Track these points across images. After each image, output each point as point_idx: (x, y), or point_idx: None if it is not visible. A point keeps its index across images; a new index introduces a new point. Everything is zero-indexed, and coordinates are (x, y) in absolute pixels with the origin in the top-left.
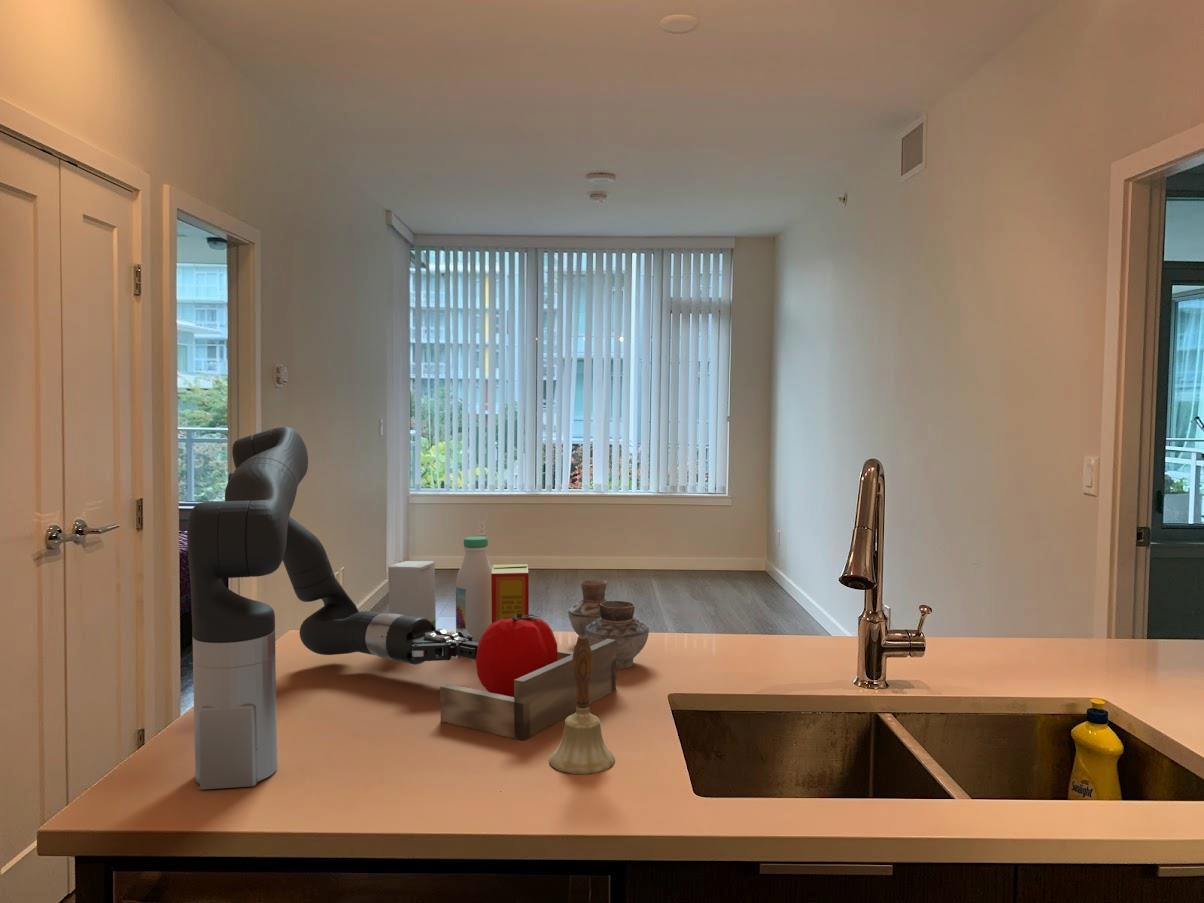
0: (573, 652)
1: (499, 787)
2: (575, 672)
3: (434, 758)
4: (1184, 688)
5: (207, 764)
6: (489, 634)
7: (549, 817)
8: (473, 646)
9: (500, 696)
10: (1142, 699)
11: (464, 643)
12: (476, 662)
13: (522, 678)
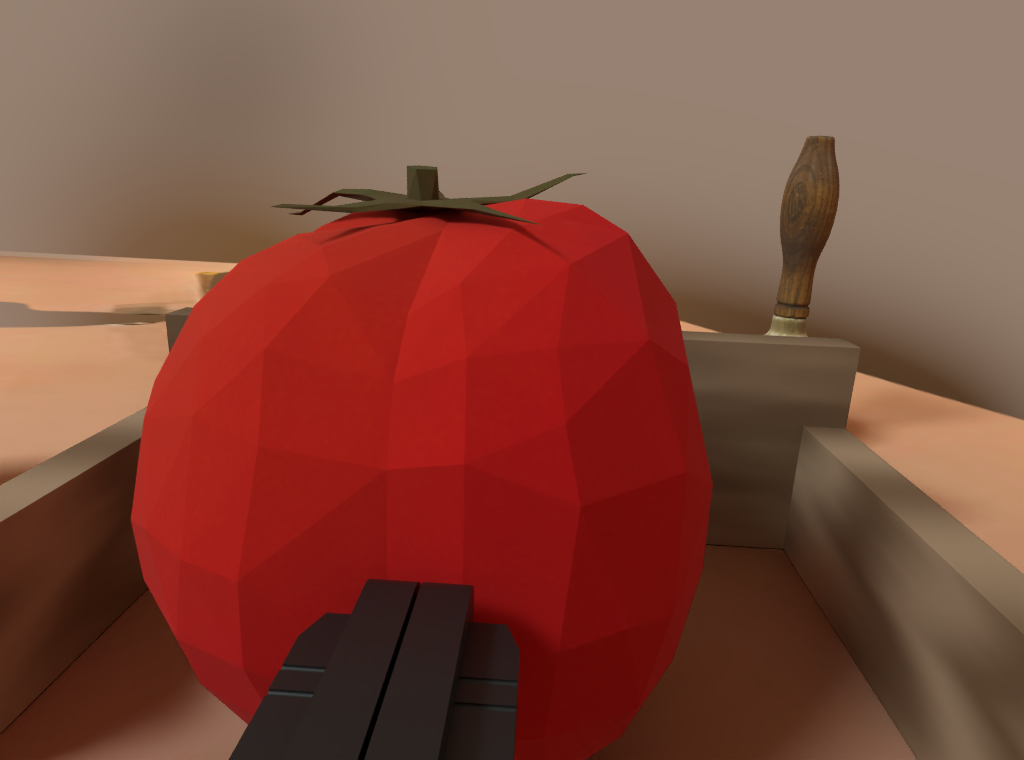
0: (835, 179)
1: None
2: (831, 228)
3: None
4: (160, 260)
5: None
6: (662, 315)
7: (990, 426)
8: (460, 650)
9: (857, 458)
10: (202, 267)
11: (435, 754)
12: (674, 600)
13: (823, 342)
